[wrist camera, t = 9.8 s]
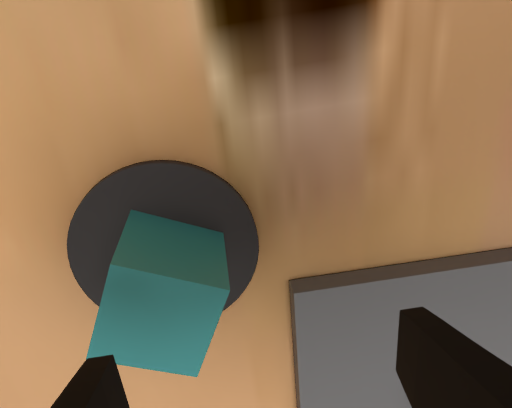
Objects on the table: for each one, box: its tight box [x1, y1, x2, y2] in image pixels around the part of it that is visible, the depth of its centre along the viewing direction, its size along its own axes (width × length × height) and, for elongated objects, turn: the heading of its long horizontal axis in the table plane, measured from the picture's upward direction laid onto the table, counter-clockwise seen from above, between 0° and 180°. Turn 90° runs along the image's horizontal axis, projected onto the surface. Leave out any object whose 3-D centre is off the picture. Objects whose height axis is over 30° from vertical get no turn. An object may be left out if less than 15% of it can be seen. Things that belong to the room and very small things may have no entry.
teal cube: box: [86, 210, 230, 377], centre depth 17 cm, size 4×4×5 cm
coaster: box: [67, 160, 259, 311], centre depth 20 cm, size 9×9×1 cm
